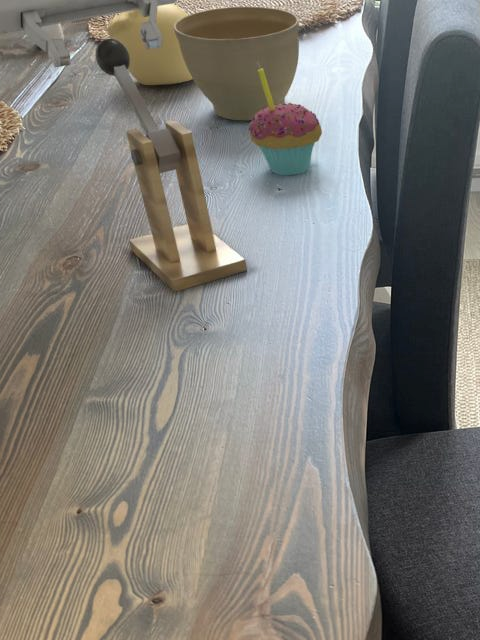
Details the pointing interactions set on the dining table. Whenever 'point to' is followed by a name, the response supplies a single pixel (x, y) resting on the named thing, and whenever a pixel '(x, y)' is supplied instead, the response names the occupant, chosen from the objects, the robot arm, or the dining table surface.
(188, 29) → the planter bowl
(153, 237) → the wooden lever stand
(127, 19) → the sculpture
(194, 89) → the dining table surface
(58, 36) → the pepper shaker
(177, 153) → the knife lever
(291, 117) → the cupcake
